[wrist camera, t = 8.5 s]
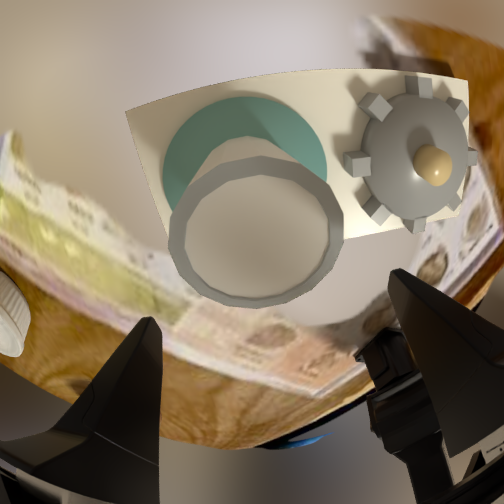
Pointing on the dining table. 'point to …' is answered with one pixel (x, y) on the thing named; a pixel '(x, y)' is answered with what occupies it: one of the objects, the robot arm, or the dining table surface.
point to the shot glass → (255, 226)
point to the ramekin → (12, 317)
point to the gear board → (325, 139)
